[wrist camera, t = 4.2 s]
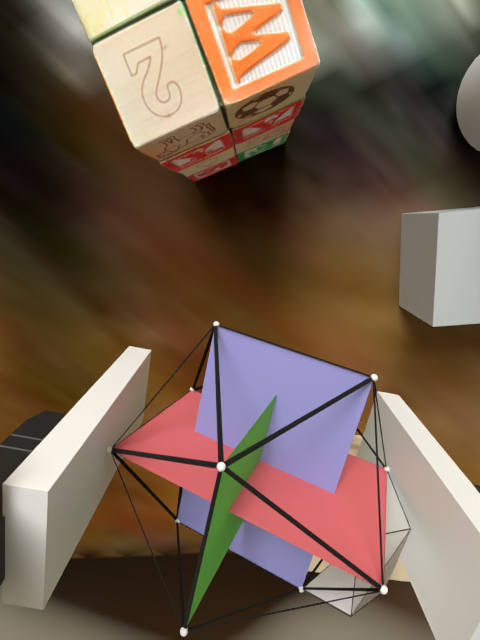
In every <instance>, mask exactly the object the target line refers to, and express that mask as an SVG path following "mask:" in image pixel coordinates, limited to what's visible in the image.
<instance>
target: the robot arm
mask: <svg viewBox="0 0 480 640" xmlns="http://www.w3.org/2000/svg"><path fill="white" fill-rule="evenodd" d="M150 358H151V350H148V349H142V348H137V347H131V346H129V347H128V348H127V349H126V350H125V352H124V353H123V354H122V355H121V356H120V357H119V358H118V359H117V360H116V361H115V362H114V363H113V365H112V366H111V367H110V368H109V369H108V370H107V371H106V372H105V373H104V374H103V375H102V377H101V378H100V379H99V380H98V381H97V382H96V383H95V384H94V385H93V386H92V387H91V388H90V390H89V391H88V392H87V393H86V394H85V395H84V396H83V397H82V398H81V399H80V400H79V401H78V403H77V404H76V405H75V406H74V407H73V408H72V409H71V410H70V411H69V412H68V413H67V414H63V413H57V412H52V411H44V412H42V413H40V414H38V415H36V416H34V417H32V418H30V419H27V420H26V421H25V422H24V423H23V424H22V425H20V426H19V427H18V428H17V429H16V430H15V431H14V432H13V433H12V435H11V436H8V437H7V438H6V439H5V440H4V441H3V442H2V443H1V444H0V585H1V584H2V582H3V603H4V604H11V605H17V606H23V607H29V608H36V609H42V610H43V609H44V607H45V605H46V603H47V601H48V599H49V597H50V596H51V594H52V592H53V590H54V588H55V586H56V584H57V582H58V580H59V578H60V576H61V575H62V573H63V571H64V569H65V567H66V565H67V563H68V561H69V559H70V558H71V556H72V554H73V552H74V550H75V548H76V546H77V544H78V542H79V540H80V538H81V537H82V535H83V533H84V531H85V529H86V527H87V525H88V523H89V521H90V519H91V517H92V516H93V514H94V512H95V510H96V508H97V506H98V504H99V502H100V500H101V498H102V496H103V495H104V493H105V491H106V489H107V487H108V485H109V483H110V481H111V479H112V477H113V476H114V474H115V472H116V470H117V467H118V466H119V464H120V462H119V461H118V460H117V459H116V458H115V456H114V455H113V454H112V455H113V457H114V460H115V462H116V465H117V467H116V465H115V462H114V460H113V457H112V455H111V453H108V452H107V449H108V447H110V446H111V447H113V445H114V444H115V443H116V442H117V441H118V439H119V438H120V437H121V436H122V435H123V433H124V432H125V431H126V430H127V429H128V427H129V426H130V425H131V424H132V423H133V421H134V420H135V419H136V418H137V417H138V415H139V414H140V413H141V412H142V411H143V410H144V406H145V398H146V390H147V382H148V374H149V366H150ZM375 399H376V397H375ZM377 400H378V407H379V415H380V422H381V429H382V437H383V444H384V451H385V459H386V466H387V467H389V472H388V473H389V476H390V478H391V480H392V483H393V485H394V488H395V490H396V493H397V495H398V498H399V500H400V503H401V505H402V507H403V510H404V512H405V515H406V517H407V520H408V522H409V525H410V527H411V530H410V533H409V535H408V537H407V540H406V542H405V544H404V547H403V549H402V551H401V553H400V556H399V557H400V559H401V561H402V563H403V566H404V568H405V570H406V573H407V575H408V577H409V579H410V582H411V584H412V586H413V589H414V591H415V593H416V595H417V598H418V600H419V602H420V605H421V607H422V609H423V611H424V614H425V616H426V618H427V621H428V623H429V625H430V628H431V630H432V632H433V634H434V637H435V639H436V640H480V486H479V485H473V484H472V483H471V482H470V481H469V480H468V479H467V477H466V476H465V475H464V474H463V473H462V471H461V470H460V469H459V468H458V466H457V465H456V464H455V463H454V462H453V460H452V459H451V458H450V457H449V456H448V454H447V453H446V452H445V451H444V449H443V448H442V447H441V446H440V445H439V443H438V442H437V441H436V440H435V439H434V437H433V436H432V435H431V434H430V433H429V431H428V430H427V429H426V428H425V426H424V425H423V424H422V423H421V422H420V420H419V419H418V418H417V417H416V416H415V414H414V413H413V412H412V411H411V409H410V408H409V407H408V406H407V405H406V403H405V402H404V401H403V400H402V399H401V397H400V396H399V395H395V394H390V393H384V392H379V391H377ZM143 415H144V411H143V413H142V414H141V415H140V416H139V417H138V418H137V420H136V421H135V422H134V423H133V424H132V426H131V427H130V428H129V429H128V430H127V432H126V433H125V434H124V435H123V436H122V438H121V439H120V440H119V441H118V442H117V444H118V443H119V442H120V441H122V440H123V439H125V438H126V437H127V436H129V435H130V434H131V433H133V432H134V431H136V430H137V429H138V428H139V426H140V424H141V422H142V420H143ZM376 422H377V444H378V457H379V458H380V460H381V461H382V462H383V464H384V465H385V460H384V453H383V446H382V439H381V431H380V424H379V417H378V410H377V403H376ZM363 436H364V438H365V439H366V440H367V442H368V443H369V444H370V446H371V447H372V449H373V450H374V451H375V453H376V444H375V421H374V404H373V407H372V410H371V413H370V416H369V419H368V422H367V425H366V428H365V431H364V434H363ZM117 455H118V454H117ZM118 456H119V457H120V458H121V459H122V458H123V457H122V456H120V455H118ZM356 457H358V458H361V459H363V460H365V461H368V462H370V463H373V464H375V465H376V456H375V455H374V453H373V452H372V450H371V449H370V448H369V446H368V445H367V444H366V442H365V441H364V439H363V438H362V441H361V444H360V447H359V450H358V453H357V456H356ZM378 466H380V467H383V466H382V464H381V463H380V461H379V460H378Z"/></svg>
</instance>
